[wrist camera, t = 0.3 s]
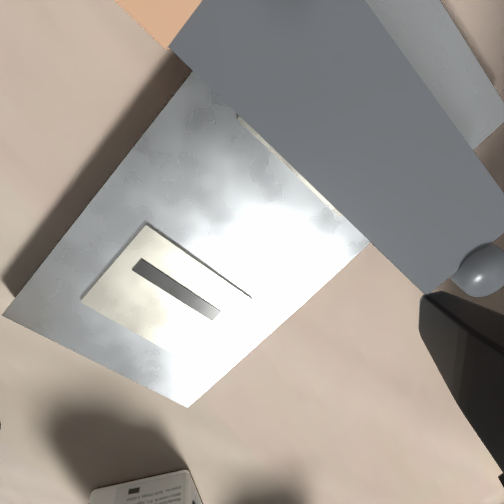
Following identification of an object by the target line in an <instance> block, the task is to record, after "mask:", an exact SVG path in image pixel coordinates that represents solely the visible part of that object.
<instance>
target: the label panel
mask: <svg viewBox="0 0 504 504" xmlns="http://www.w3.org/2000/svg"><path fill="white" fill-rule="evenodd" d="M365 1H366V2H367V4H368V5H369V7H370V8H371V9H372V11H373V12H374V14H375V15H376V16H377V18H378V19H379V21H380V22H381V23H382V25H383V26H384V27H385V29H386V30H387V32H388V33H389V34H390V36H391V37H392V39H393V40H394V41H395V43H396V44H397V46H398V47H399V48H400V50H401V51H402V52H403V54H404V55H405V57H406V58H407V59H408V61H409V62H410V64H411V65H412V66H413V68H414V69H415V71H416V72H417V73H418V75H419V76H420V77H421V79H422V80H423V82H424V83H425V84H426V86H427V87H428V89H429V90H430V91H431V93H432V94H433V96H434V97H435V98H436V100H437V101H438V102H439V104H440V105H441V107H442V108H443V109H444V111H445V112H446V114H447V115H448V116H449V118H450V119H451V121H452V122H453V123H454V125H455V126H456V127H457V129H458V130H459V132H460V133H461V134H462V136H463V137H464V139H465V140H466V141H467V143H468V144H469V146H470V147H471V148H472V150H474V149H475V148H476V147H477V146H478V145H479V144H480V143H481V142H483V141H484V140H485V139H486V138H487V137H488V136H489V135H490V134H491V133H493V132H494V131H495V130H496V129H497V128H498V127H499V126H500V125H501V124H502V123H504V102H503V101H502V99H501V97H500V96H499V94H498V93H497V91H496V89H495V88H494V86H493V85H492V83H491V81H490V80H489V78H488V77H487V75H486V73H485V72H484V70H483V69H482V67H481V65H480V64H479V62H478V61H477V59H476V57H475V56H474V54H473V53H472V51H471V49H470V48H469V46H468V45H467V43H466V41H465V40H464V38H463V36H462V35H461V33H460V32H459V30H458V28H457V27H456V25H455V24H454V22H453V20H452V19H451V17H450V16H449V14H448V12H447V11H446V9H445V8H444V6H443V4H442V3H441V1H440V0H365ZM370 243H371V242H370V241H369V240H368V239H367V238H366V237H365V236H364V235H363V234H362V233H361V232H359V231H358V230H357V229H356V228H355V227H354V226H353V225H352V224H351V223H350V222H349V221H348V220H347V219H346V218H345V217H344V216H343V215H342V214H341V213H340V212H339V211H338V210H337V209H336V208H335V207H334V206H333V205H331V204H330V203H329V202H328V201H327V200H326V199H325V198H324V197H323V196H322V195H321V194H320V193H319V192H318V191H317V190H316V189H315V188H314V187H313V186H312V185H311V184H310V183H309V182H308V181H307V180H306V179H304V178H303V177H302V176H301V175H300V174H299V173H298V172H297V171H296V170H295V169H294V168H293V167H292V166H291V165H290V164H289V163H288V162H287V161H286V160H285V159H284V158H283V157H282V156H281V155H280V154H279V153H278V152H276V151H275V150H274V149H273V148H272V147H271V146H270V145H269V144H268V143H267V142H266V141H265V140H264V139H263V138H262V137H261V136H260V135H259V134H258V133H257V132H256V131H255V130H254V129H253V128H252V127H251V126H249V125H248V124H247V123H246V122H245V121H244V120H243V119H242V118H241V117H240V116H239V115H238V114H237V113H236V112H235V111H234V110H233V109H232V108H231V107H230V106H229V105H228V104H227V103H226V102H225V101H224V100H223V99H221V98H220V97H219V96H218V95H217V94H216V93H215V92H214V91H213V90H212V89H211V88H210V87H209V86H208V85H207V84H206V83H205V82H204V81H203V80H202V79H201V78H200V77H199V76H198V75H197V74H196V73H195V72H193V71H192V72H191V74H190V75H189V76H188V78H187V79H186V80H185V81H184V83H183V84H182V85H181V87H180V88H179V89H178V90H177V92H176V93H175V94H174V95H173V97H172V98H171V99H170V101H169V102H168V103H167V104H166V106H165V107H164V108H163V110H162V111H161V112H160V113H159V115H158V116H157V117H156V118H155V120H154V121H153V122H152V124H151V125H150V126H149V127H148V129H147V130H146V131H145V133H144V134H143V135H142V136H141V138H140V139H139V140H138V141H137V143H136V144H135V145H134V147H133V148H132V149H131V150H130V152H129V153H128V154H127V156H126V157H125V158H124V159H123V161H122V162H121V163H120V164H119V166H118V167H117V168H116V170H115V171H114V172H113V173H112V175H111V176H110V177H109V179H108V180H107V181H106V182H105V184H104V185H103V186H102V187H101V189H100V190H99V191H98V193H97V194H96V195H95V196H94V198H93V199H92V200H91V201H90V203H89V204H88V205H87V207H86V208H85V209H84V210H83V212H82V213H81V214H80V216H79V217H78V218H77V219H76V221H75V222H74V223H73V224H72V226H71V227H70V228H69V230H68V231H67V232H66V233H65V235H64V236H63V237H62V239H61V240H60V241H59V242H58V244H57V245H56V246H55V247H54V249H53V250H52V251H51V253H50V254H49V255H48V256H47V258H46V259H45V260H44V262H43V263H42V264H41V265H40V267H39V268H38V269H37V270H36V272H35V273H34V274H33V276H32V277H31V278H30V279H29V281H28V282H27V283H26V285H25V286H24V287H23V288H22V290H21V291H20V292H19V293H18V295H17V296H16V297H15V299H14V300H13V301H12V303H11V304H10V305H9V306H8V308H7V309H6V310H5V312H4V313H3V314H2V316H4V317H6V318H8V319H10V320H12V321H14V322H16V323H18V324H20V325H22V326H24V327H26V328H28V329H30V330H32V331H34V332H36V333H38V334H40V335H42V336H44V337H46V338H48V339H50V340H52V341H54V342H56V343H58V344H60V345H62V346H64V347H66V348H68V349H70V350H72V351H74V352H76V353H78V354H80V355H82V356H84V357H86V358H88V359H90V360H92V361H94V362H97V363H99V364H101V365H103V366H105V367H107V368H109V369H111V370H113V371H115V372H117V373H119V374H121V375H123V376H125V377H127V378H129V379H131V380H133V381H135V382H137V383H139V384H141V385H143V386H145V387H147V388H149V389H151V390H153V391H155V392H157V393H159V394H161V395H163V396H165V397H167V398H169V399H171V400H173V401H175V402H177V403H179V404H181V405H183V406H185V407H187V408H188V407H189V406H190V405H191V404H192V403H194V402H195V401H196V400H197V399H198V398H199V397H200V396H201V395H202V394H203V393H205V392H206V391H207V390H208V389H209V388H210V387H211V386H212V385H213V384H215V383H216V382H217V381H218V380H219V379H220V378H221V377H222V376H223V375H225V374H226V373H227V372H228V371H229V370H230V369H231V368H232V367H233V366H234V365H236V364H237V363H238V362H239V361H240V360H241V359H242V358H243V357H244V356H246V355H247V354H248V353H249V352H250V351H251V350H252V349H253V348H254V347H256V346H257V345H258V344H259V343H260V342H261V341H262V340H263V339H264V338H265V337H267V336H268V335H269V334H270V333H271V332H272V331H273V330H274V329H275V328H277V327H278V326H279V325H280V324H281V323H282V322H283V321H284V320H285V319H287V318H288V317H289V316H290V315H291V314H292V313H293V312H294V311H295V310H297V309H298V308H299V307H300V306H301V305H302V304H303V303H304V302H305V301H306V300H308V299H309V298H310V297H311V296H312V295H313V294H314V293H315V292H316V291H318V290H319V289H320V288H321V287H322V286H323V285H324V284H325V283H326V282H328V281H329V280H330V279H331V278H332V277H333V276H334V275H335V274H336V273H337V272H339V271H340V270H341V269H342V268H343V267H344V266H345V265H346V264H347V263H349V262H350V261H351V260H352V259H353V258H354V257H355V256H356V255H357V254H359V253H360V252H361V251H362V250H363V249H364V248H365V247H366V246H367V245H368V244H370Z"/></svg>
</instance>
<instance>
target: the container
mask: <svg viewBox="0 0 504 504" xmlns="http://www.w3.org/2000/svg"><path fill="white" fill-rule="evenodd" d="M88 504H202V502H201V500H200V497H199V495H198V492H197V490H196V487H195V485H194V483H193V480H192V478H191V475H190V473H189V471H188V470H180V471H176V472H171V473H167V474H162V475H157V476H153V477H148V478H144V479H139V480H135V481H130V482H126V483H121V484H116V485H112V486H107V487H103V488H98V489H95V490H93V491H92V493H91V495H90V499H89V503H88Z"/></svg>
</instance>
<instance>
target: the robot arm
mask: <svg viewBox="0 0 504 504" xmlns="http://www.w3.org/2000/svg"><path fill="white" fill-rule="evenodd" d="M419 332H420V335H421V338H422V340H423V342H424V343H425V345H426V347H427V349H428V351H429V353H430V355H431V357H432V358H433V360H434V362H435V364H436V366H437V368H438V370H439V371H440V373H441V375H442V377H443V379H444V381H445V383H446V385H447V386H448V388H449V390H450V392H451V394H452V396H453V397H454V399H455V401H456V403H457V404H458V406H459V408H460V409H461V411H462V412H463V414H464V415H465V417H466V418H467V420H468V421H469V423H470V424H471V426H472V427H473V429H474V430H475V432H476V433H477V435H478V436H479V438H480V439H481V441H482V442H483V443H484V445H485V446H486V448H487V449H488V451H489V452H490V454H491V455H492V457H493V458H494V460H495V461H496V463H497V464H498V466H499V467H500V469H501V470H502V471H503V473H502V474H501V475H499V476H498V478H499V480H500V481H501V483H502V485H503V487H504V315H503V314H500V313H497V312H495V311H492V310H490V309H487V308H485V307H482V306H480V305H477V304H474V303H472V302H469V301H467V300H464V299H462V298H459V297H457V296H454V295H451V294H449V293H446V292H443V291H439V292H434V293H429V294H425V295H423V296H422V297H421V299H420V308H419ZM0 428H1V423H0Z"/></svg>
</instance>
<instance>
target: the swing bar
mask: <svg viewBox="0 0 504 504" xmlns="http://www.w3.org/2000/svg"><path fill="white" fill-rule="evenodd" d="M114 1H115V2H116V3H117V4H118V5H120V6H121V7H122V8H123V9H124V10H125V11H126V12H127V13H128V14H129V15H130V16H131V17H132V18H133V19H134V20H135V21H136V22H137V23H138V24H139V25H140V26H141V27H143V28H144V29H145V30H146V31H147V32H148V33H149V34H150V35H151V36H152V37H153V38H154V39H155V40H156V41H157V42H158V43H159V44H160V45H161V46H162V47H163V48H164V49H166V50H171V51H173V52H174V53H175V54H176V55H177V56H178V57H179V58H180V59H181V60H182V61H183V62H184V63H185V64H186V65H187V66H188V67H189V68H190V69H191V70H192V71H193V72H195V73H196V74H197V75H198V76H199V77H200V78H201V79H202V80H203V81H204V82H205V83H206V84H207V85H208V86H209V87H210V88H211V89H212V90H213V91H214V92H215V93H216V94H217V95H218V96H219V97H220V98H221V99H223V100H224V101H225V102H226V103H227V104H228V105H229V106H230V107H231V108H232V109H233V110H234V111H235V112H236V113H237V114H238V115H239V116H240V117H241V118H242V119H243V120H244V121H245V122H246V123H247V124H248V125H249V126H251V127H252V128H253V129H254V130H255V131H256V132H257V133H258V134H259V135H260V136H261V137H262V138H263V139H264V140H265V141H266V142H267V143H268V144H269V145H270V146H271V147H272V148H273V149H274V150H275V151H276V152H278V153H279V154H280V155H281V156H282V157H283V158H284V159H285V160H286V161H287V162H288V163H289V164H290V165H291V166H292V167H293V168H294V169H295V170H296V171H297V172H298V173H299V174H300V175H301V176H302V177H303V178H304V179H306V180H307V181H308V182H309V183H310V184H311V185H312V186H313V187H314V188H315V189H316V190H317V191H318V192H319V193H320V194H321V195H322V196H323V197H324V198H325V199H326V200H327V201H328V202H329V203H330V204H331V205H333V206H334V207H335V208H336V209H337V210H338V211H339V212H340V213H341V214H342V215H343V216H344V217H345V218H346V219H347V220H348V221H349V222H350V223H351V224H352V225H353V226H354V227H355V228H356V229H357V230H358V231H359V232H361V233H362V234H363V235H364V236H365V237H366V238H367V239H368V240H369V241H370V242H371V243H372V244H373V245H374V246H375V247H376V248H377V249H378V250H379V251H380V252H381V253H382V254H383V255H384V256H385V257H386V258H387V259H389V260H390V261H391V262H392V263H393V264H394V265H395V266H396V267H397V268H398V269H399V270H400V271H401V272H402V273H403V274H404V275H405V276H406V277H407V278H408V279H409V280H410V281H411V282H412V283H413V284H414V285H416V286H417V287H418V288H419V289H420V290H421V291H422V292H423V293H424V294H429V293H431V292H432V291H433V290H434V289H436V288H437V287H438V286H439V285H440V284H442V283H443V282H444V281H445V280H447V279H448V278H449V279H451V280H452V281H453V282H454V283H455V284H456V285H457V286H458V287H460V288H461V289H462V290H463V291H464V292H465V293H466V294H468V295H470V296H473V297H483V296H487V295H490V294H492V293H494V292H496V291H497V290H499V289H500V288H501V287H503V286H504V250H502V249H500V248H499V247H497V246H496V245H494V244H493V243H492V242H494V241H495V240H496V239H497V238H498V237H500V236H501V235H502V234H503V233H504V193H503V191H502V190H501V189H500V187H499V186H498V184H497V183H496V182H495V180H494V179H493V177H492V176H491V175H490V173H489V172H488V171H487V169H486V168H485V166H484V165H483V164H482V162H481V161H480V159H479V158H478V157H477V155H476V154H475V152H474V151H473V150H472V148H471V147H470V146H469V144H468V143H467V141H466V140H465V139H464V137H463V136H462V134H461V133H460V132H459V130H458V129H457V127H456V126H455V125H454V123H453V122H452V121H451V119H450V118H449V116H448V115H447V114H446V112H445V111H444V109H443V108H442V107H441V105H440V104H439V102H438V101H437V100H436V98H435V97H434V96H433V94H432V93H431V91H430V90H429V89H428V87H427V86H426V84H425V83H424V82H423V80H422V79H421V77H420V76H419V75H418V73H417V72H416V71H415V69H414V68H413V66H412V65H411V64H410V62H409V61H408V59H407V58H406V57H405V55H404V54H403V52H402V51H401V50H400V48H399V47H398V46H397V44H396V43H395V41H394V40H393V39H392V37H391V36H390V34H389V33H388V32H387V30H386V29H385V27H384V26H383V25H382V23H381V22H380V21H379V19H378V18H377V16H376V15H375V14H374V12H373V11H372V9H371V8H370V7H369V5H368V4H367V2H366V1H365V0H114Z"/></svg>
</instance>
